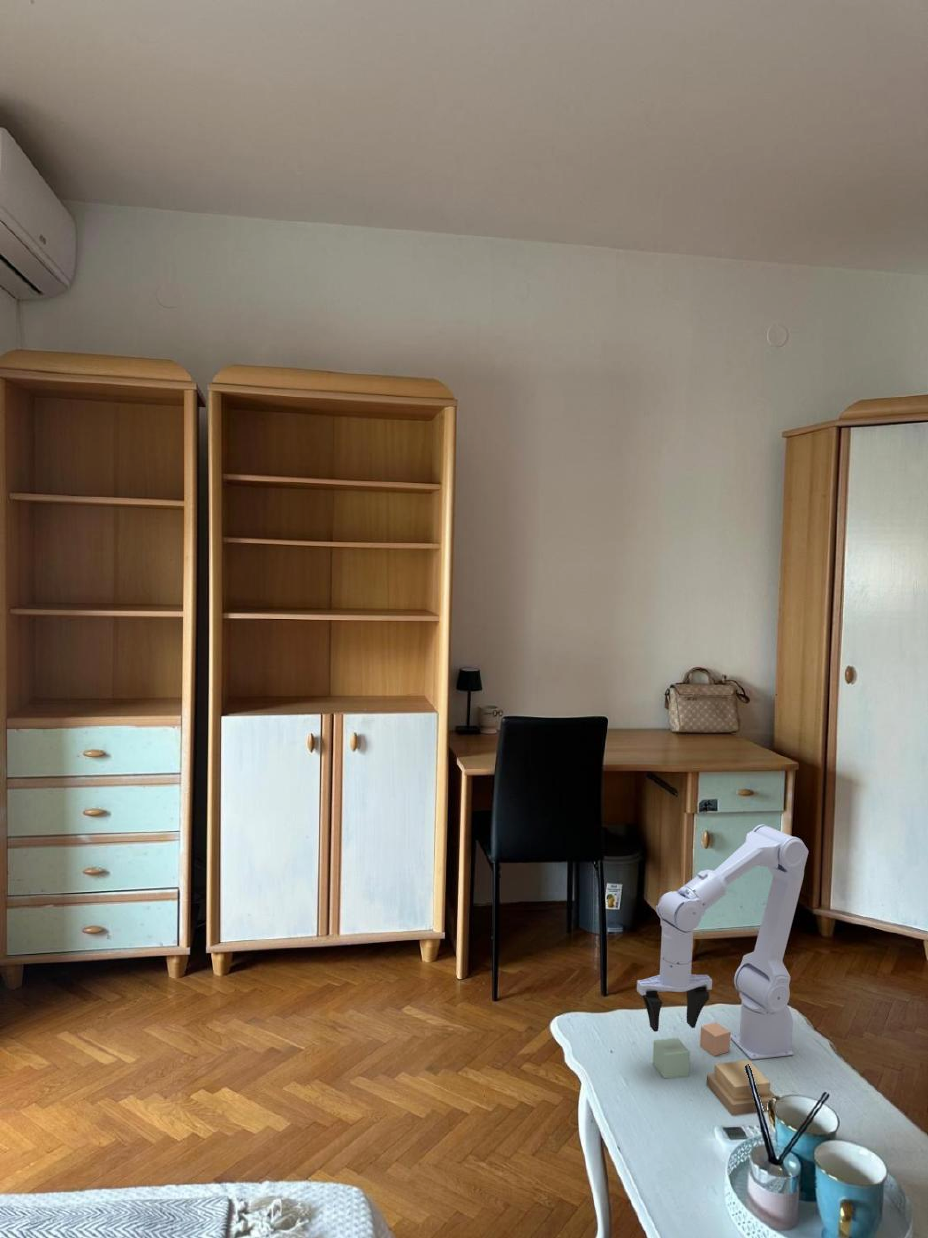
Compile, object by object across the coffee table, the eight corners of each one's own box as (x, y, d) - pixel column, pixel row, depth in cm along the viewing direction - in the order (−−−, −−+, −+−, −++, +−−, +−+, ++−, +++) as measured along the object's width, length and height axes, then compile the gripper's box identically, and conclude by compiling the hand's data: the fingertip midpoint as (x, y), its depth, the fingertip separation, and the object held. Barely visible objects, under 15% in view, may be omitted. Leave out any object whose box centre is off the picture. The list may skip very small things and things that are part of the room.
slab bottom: (750, 1082, 161) (750, 1069, 161) (777, 1112, 153) (778, 1099, 152) (706, 1087, 159) (706, 1074, 159) (731, 1118, 151) (732, 1105, 150)
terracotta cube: (714, 1041, 174) (715, 1022, 174) (729, 1051, 170) (730, 1032, 170) (700, 1046, 172) (700, 1026, 172) (714, 1056, 168) (715, 1036, 168)
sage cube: (676, 1060, 167) (677, 1038, 166) (688, 1076, 162) (690, 1052, 161) (652, 1063, 165) (653, 1040, 165) (664, 1078, 161) (665, 1055, 160)
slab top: (748, 1072, 160) (748, 1060, 160) (769, 1095, 153) (770, 1083, 153) (714, 1076, 159) (714, 1064, 158) (734, 1100, 152) (734, 1087, 152)
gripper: (700, 945, 168) (697, 1012, 169) (631, 950, 164) (628, 1019, 165) (719, 962, 161) (715, 1032, 162) (647, 968, 157) (643, 1039, 158)
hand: (672, 1027), depth 163 cm, fingers open, 7 cm apart
